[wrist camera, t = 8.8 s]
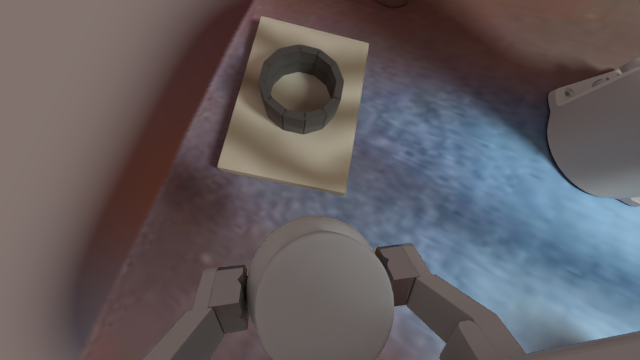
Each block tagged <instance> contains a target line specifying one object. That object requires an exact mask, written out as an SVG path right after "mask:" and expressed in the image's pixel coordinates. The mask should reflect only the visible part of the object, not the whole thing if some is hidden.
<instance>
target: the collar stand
mask: <svg viewBox="0 0 640 360" xmlns="http://www.w3.org/2000/svg"><path fill="white" fill-rule="evenodd" d="M368 48H369V43H366V42H362V41H358V40H354V39H350V38H346V37H342V36H338V35H334V34H330V33H326V32H322V31H318V30H314V29H310V28H306V27H303V26H299V25H295V24H291V23H287V22H283V21H279V20H275V19H271V18H267V17H263V16H261V19H260V22H259V26H258V29H257V33H256V36H255V39H254V43H253V46H252V50H251V53H250V57H249V60H248V63H247V67H246V70H245V74H244V77H243V80H242V84H241V87H240V91H239V94H238V97H237V101H236V104H235V108H234V111H233V115H232V118H231V121H230V125H229V128H228V132H227V135H226V138H225V142H224V145H223V149H222V152H221V155H220V159H219V162H218V166H217V168H218V169H219V170H220V171H224V172H229V173H234V174H239V175H244V176H248V177H253V178H258V179H263V180H268V181H273V182H278V183H283V184H288V185H293V186H298V187H303V188H308V189H313V190H318V191H323V192H328V193H333V194H338V195H344V194H345V193H346V187H347V181H348V174H349V168H350V162H351V155H352V149H353V143H354V137H355V130H356V124H357V118H358V111H359V105H360V99H361V92H362V86H363V80H364V73H365V67H366V61H367V54H368Z"/></svg>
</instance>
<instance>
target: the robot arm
mask: <svg viewBox="0 0 640 360" xmlns="http://www.w3.org/2000/svg"><path fill="white" fill-rule="evenodd" d="M619 68H620V69H618V70H614V71H611V72H608V73H605V74H602V75H599V76H595V77H592V78H589V79H586V80H583V81H580V82H576V83H573V84H570V85H567V86H564V87H560V88H558V89H555V90H553V91H551V92H550V93H549V94H548V103H549V108H550V118H549V122H548V128H547V137H548V143H549V147H550V150H551V153H552V156H553V158H554V160H555V162H556V163H557V165H558V167H559V168H560V169H561V171H562V172H563V173H564V175H565V176H566V177H567V178H568V179H569V180H570V181H571V182H572V183H574V184H575V185H576V186H577V187H579V188H580V189H582V190H584V191H585V192H587V193H589V194H592V195H595V196H598V197H603V198H615V199H619V200H620V201H622V202H624V203H626V204H628V205H631V206H634V207H638V206H640V57H639V58H637V59H635V60H633V61H631V62H629V63H627V64H625V65H623V66H621V67H619ZM375 255H376V256H377V258H378V259H379V260H380V261H381V263H382V265H383V266H384V268H385V270H386V272H387V274H388V277H389V280H390V283H391V286H392V291H393V296H394V306H402V305H407V307H408V308H409V309H410V310H411V311H413V312H414V313H415V314H416V315H417V316H418V317H419V318H420V319H421V320H422V321H423V322H424V323H425V324H426V325H427V326H428V327H429V328H430V329H432V330H433V331H434V332H435V333H436V334H437V335H438V336H439V337H440V338H441V339H442V340H443V341H444V342H445V343H446V345H445V347H444V349H443V351H442V352H441V354H440V357H439V358H440V360H640V331H637V332H632V333H627V334H622V335H617V336H612V337H607V338H602V339H597V340H592V341H587V342H582V343H577V344H573V345H568V346H563V347H558V348H553V349H548V350H543V351H538V352H533V353H528V354H526V353H525V352H524V350H523V349H522V348H521V346H520V345H519V344H518V342H517V341H516V340H515V338H514V337H513V336H512V334H511V333H510V332H509V330H508V329H507V328H506V326H505V325H504V324H503V323H502V321H501V320H500V319H499V317H498V316H497V315H496V314H495V313H493V312H492V311H490V310H489V309H487V308H486V307H484V306H483V305H481V304H480V303H478V302H477V301H475V300H474V299H472V298H471V297H469V296H468V295H466V294H464V293H463V292H461V291H460V290H458V289H457V288H455V287H454V286H452V285H451V284H449V283H448V282H446V281H445V280H443V279H442V278H440V277H439V276H437V275H432V274H431V272H430V270H429V269H428V267H427V266H426V264H425V262H424V261H423V259H422V258H421V256H420V255H419V253H418V251H417V250H416V248H415V247H414V245H413V244H411V243H408V244H400V245H391V246H384V247H377V249H376V251H375ZM246 275H247V268H246V265H237V266H227V267H217V268H209V269H205V270H204V271H203V273H202V276H201V280H200V283H199V287H198V290H197V294H196V297H195V301H194V304H193V308H192V310H190V311H187V312H186V313H185V314H184V315H183V316H182V318H181V319H180V320H179V321H178V322H177V323H176V324H175V325H174V326H173V327H172V329H171V330H170V331H169V332H168V333H167V334H166V335H165V336H164V337H163V338H162V340H161V341H160V342H159V343H158V344H157V345H156V346H155V347H154V348H153V349H152V351H151V352H150V353H149V354H148V355H147V356H146V357H145V358H144V359H143V360H210V358H211V356H212V355H213V353H214V352H215V350H216V348H217V347H218V345H219V344H220V342H221V340H222V339H223V337H224V334H228V333H233V332H238V331H244V330H247V329H248V318H249V310H248V307H247V294H246V288H247V278H248V276H246Z"/></svg>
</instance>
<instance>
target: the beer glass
mask: <svg viewBox="0 0 640 360" xmlns="http://www.w3.org/2000/svg"><path fill="white" fill-rule="evenodd" d="M377 1H378V2H380V3H381V4H383V5H385V6H388V7H400V6H403V5H405V4H406V3H407V2H408V1H409V0H377Z"/></svg>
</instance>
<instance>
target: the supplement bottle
mask: <svg viewBox="0 0 640 360" xmlns="http://www.w3.org/2000/svg"><path fill="white" fill-rule="evenodd" d="M246 294H247V304H248V309H249V313H250V316H251V319H252V321H253V323H254V325H255V327H256V329H257V331H258V335H259V338H260V341H261V343H262V345H263V347H264V349H265V351H266V353H267V354H268V355H269V357H270V358H271V360H375V359H376V358H377V357H378V355H379V354H380V352H381V351H382V349H383V348H384V346H385V343H386V341H387V339H388V337H389V334H390V331H391V328H392V323H393V317H394V296H393V291H392V286H391V283H390V280H389V277H388V274H387V272H386V270H385V268H384V266H383V265H382V263H381V261H380V260H379V259H378V258H377V256H376V255H375V253H374V251H373V249H372V248H371V246H370V245H369V243H368V242H367V241H366V239H365V238H364V237H363V236H362V235H361V234H360V233H359V232H358V231H356V230H355V229H354V228H353V227H351V226H350V225H348V224H346V223H344V222H342V221H340V220H337V219H334V218H330V217H325V216H307V217H302V218H298V219H295V220H292V221H290V222H288V223H286V224H284V225H282V226H281V227H279V228H278V229H276V230H275V231H274V232H273V233H271V234H270V235H269V236H268V237H267V238H266V240H265V241H264V242H263V243H262V245H261V246H260V247H259V249H258V251H257V252H256V254H255V256H254V258H253V261H252V263H251V266H250V269H249V273H248V278H247V288H246Z"/></svg>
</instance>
